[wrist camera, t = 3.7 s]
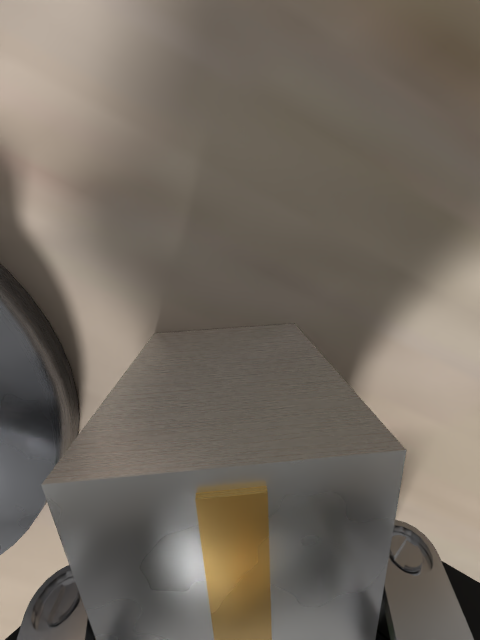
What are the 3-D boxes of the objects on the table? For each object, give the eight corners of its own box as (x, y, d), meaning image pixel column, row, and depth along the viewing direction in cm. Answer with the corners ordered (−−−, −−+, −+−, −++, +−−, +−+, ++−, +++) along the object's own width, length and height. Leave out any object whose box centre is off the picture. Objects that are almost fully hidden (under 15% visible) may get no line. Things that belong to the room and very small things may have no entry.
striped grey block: (294, 323, 9) (411, 455, 4) (292, 524, 12) (355, 779, 6) (154, 333, 9) (36, 491, 3) (186, 535, 12) (152, 811, 6)
